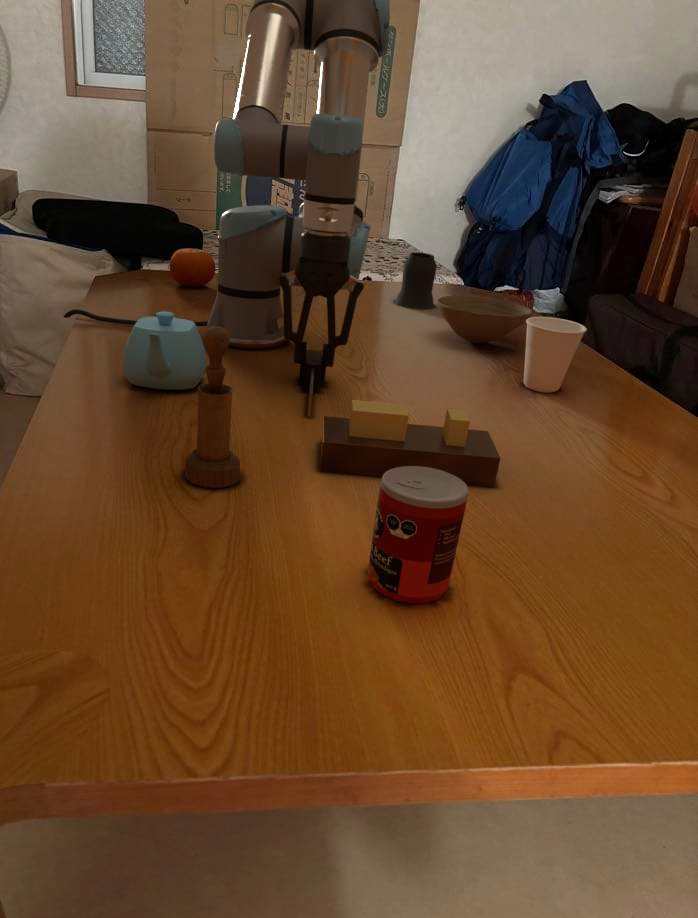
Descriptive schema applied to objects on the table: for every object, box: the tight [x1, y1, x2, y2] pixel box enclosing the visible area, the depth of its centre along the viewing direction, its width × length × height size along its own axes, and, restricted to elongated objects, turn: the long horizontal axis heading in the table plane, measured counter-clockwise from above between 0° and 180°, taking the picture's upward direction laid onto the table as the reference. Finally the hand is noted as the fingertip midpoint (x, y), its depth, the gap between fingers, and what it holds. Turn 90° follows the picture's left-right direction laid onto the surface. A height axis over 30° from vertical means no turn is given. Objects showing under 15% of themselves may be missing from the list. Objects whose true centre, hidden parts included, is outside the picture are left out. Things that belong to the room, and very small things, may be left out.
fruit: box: [169, 247, 216, 287], centre depth 181 cm, size 11×10×8 cm
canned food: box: [367, 466, 469, 604], centre depth 73 cm, size 8×8×11 cm
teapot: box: [122, 310, 207, 391], centre depth 119 cm, size 13×11×18 cm
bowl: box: [436, 294, 533, 344], centre depth 156 cm, size 18×18×8 cm
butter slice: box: [443, 408, 471, 447], centre depth 98 cm, size 2×4×4 cm, turn 177°
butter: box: [349, 399, 410, 441], centre depth 98 cm, size 7×4×4 cm, turn 87°
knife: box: [302, 348, 323, 418], centre depth 121 cm, size 19×3×5 cm, turn 177°
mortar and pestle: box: [184, 327, 241, 489], centre depth 89 cm, size 7×6×18 cm
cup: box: [522, 316, 588, 393], centre depth 132 cm, size 10×10×11 cm
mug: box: [395, 251, 438, 310], centre depth 183 cm, size 12×9×11 cm
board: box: [319, 415, 501, 488], centre depth 100 cm, size 22×9×4 cm, turn 87°
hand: (311, 383), depth 127 cm, fingers open, 3 cm apart
